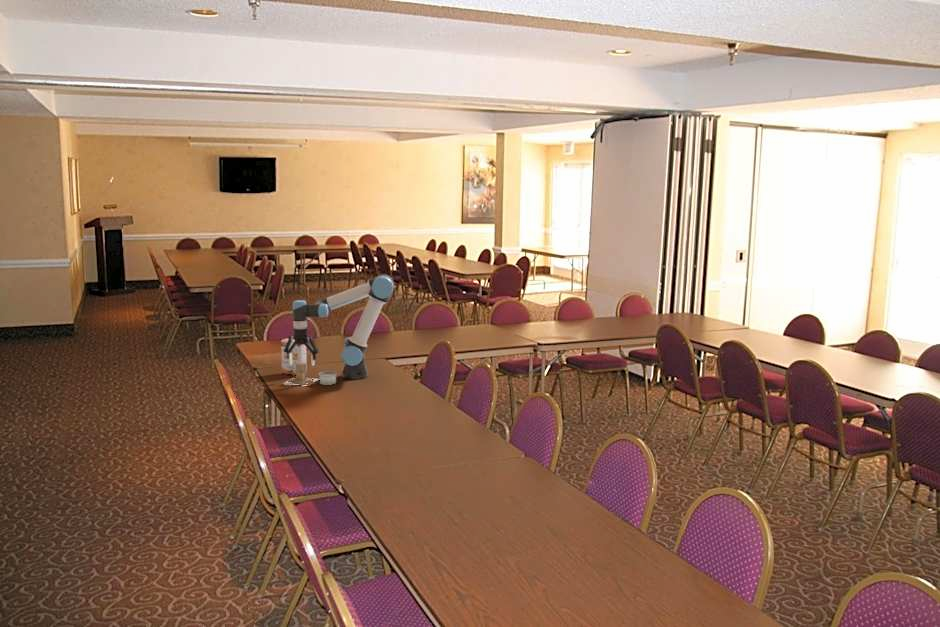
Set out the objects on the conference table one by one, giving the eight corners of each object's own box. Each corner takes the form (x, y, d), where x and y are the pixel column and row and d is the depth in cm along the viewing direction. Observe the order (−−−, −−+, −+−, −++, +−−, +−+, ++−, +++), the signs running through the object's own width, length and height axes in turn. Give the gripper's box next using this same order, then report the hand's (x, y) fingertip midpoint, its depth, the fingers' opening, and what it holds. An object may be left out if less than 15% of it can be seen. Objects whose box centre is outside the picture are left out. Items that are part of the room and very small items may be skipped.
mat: (294, 378, 449) (294, 377, 449) (320, 379, 446) (320, 379, 446) (282, 384, 434) (282, 383, 434) (308, 386, 431) (308, 385, 430)
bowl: (323, 381, 442) (323, 370, 441) (339, 382, 440) (339, 371, 439) (316, 385, 433) (315, 374, 432) (332, 387, 431) (332, 375, 430)
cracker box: (281, 374, 458) (280, 339, 454) (287, 372, 463) (286, 337, 460) (301, 376, 453) (300, 341, 449) (307, 374, 458) (306, 339, 455)
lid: (297, 378, 446) (296, 361, 445) (314, 379, 444) (314, 362, 442) (288, 383, 436) (287, 365, 434) (306, 384, 433) (306, 366, 432)
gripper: (276, 328, 434) (278, 365, 438) (318, 329, 429) (319, 367, 432) (282, 326, 441) (284, 362, 445) (323, 327, 436) (325, 364, 439)
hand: (301, 364), depth 438 cm, fingers open, 13 cm apart
